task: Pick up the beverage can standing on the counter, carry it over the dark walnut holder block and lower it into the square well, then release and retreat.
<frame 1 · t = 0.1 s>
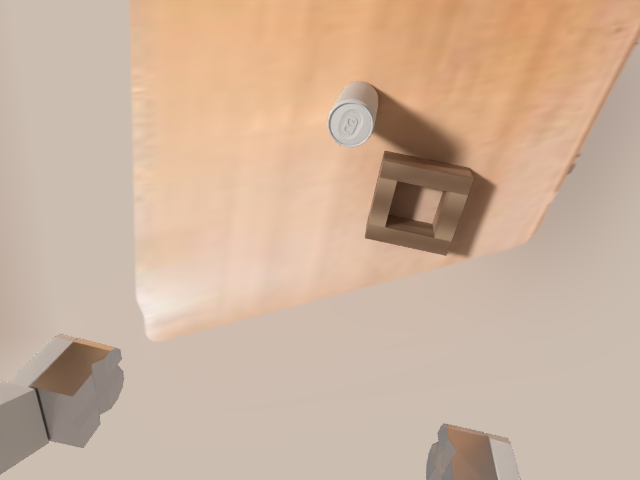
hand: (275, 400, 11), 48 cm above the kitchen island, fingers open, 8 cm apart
beverage can: (359, 100, 53), on the kitchen island
walnut holder: (415, 197, 58), on the kitchen island
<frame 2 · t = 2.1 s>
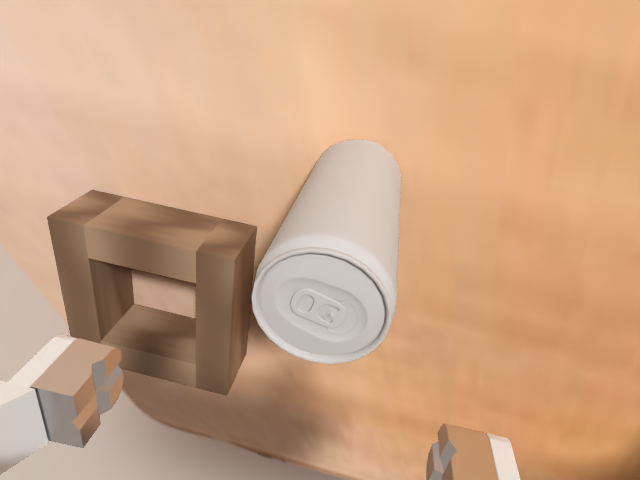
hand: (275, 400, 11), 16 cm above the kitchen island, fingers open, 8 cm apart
beverage can: (358, 176, 24), on the kitchen island
walnut holder: (175, 278, 30), on the kitchen island
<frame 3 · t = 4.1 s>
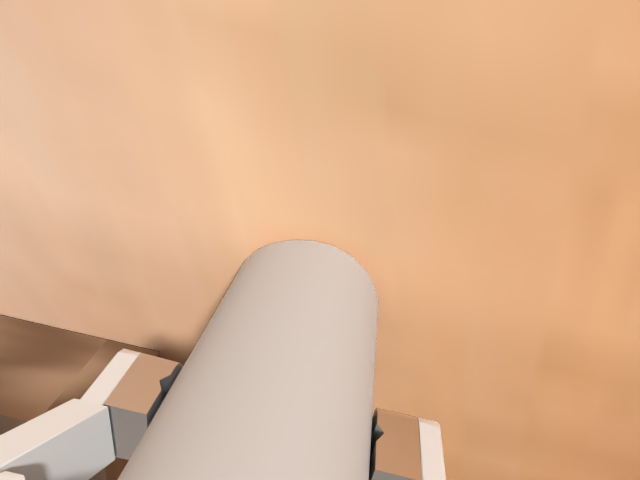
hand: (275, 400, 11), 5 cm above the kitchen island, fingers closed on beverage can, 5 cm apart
beverage can: (309, 288, 15), on the kitchen island, touching gripper
walnut holder: (52, 410, 20), on the kitchen island
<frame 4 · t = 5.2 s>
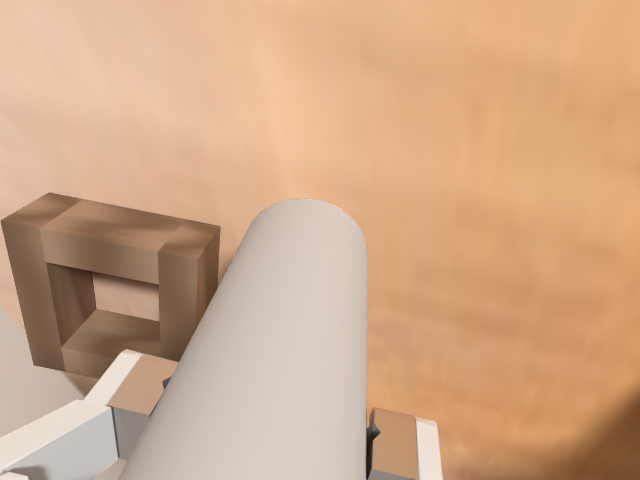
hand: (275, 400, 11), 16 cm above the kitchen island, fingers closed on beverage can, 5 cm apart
beverage can: (308, 243, 17), point 8 cm above the kitchen island, touching gripper
walnut holder: (138, 281, 30), on the kitchen island
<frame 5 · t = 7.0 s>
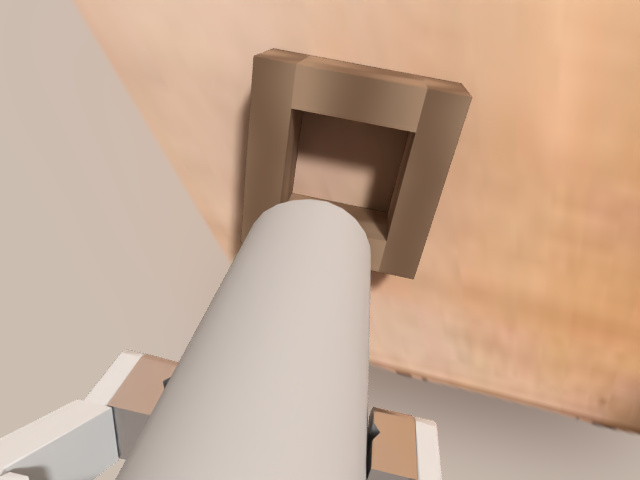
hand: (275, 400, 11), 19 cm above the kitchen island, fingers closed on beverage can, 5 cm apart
beverage can: (311, 244, 17), point 12 cm above the kitchen island, touching gripper
walnut holder: (348, 156, 28), on the kitchen island
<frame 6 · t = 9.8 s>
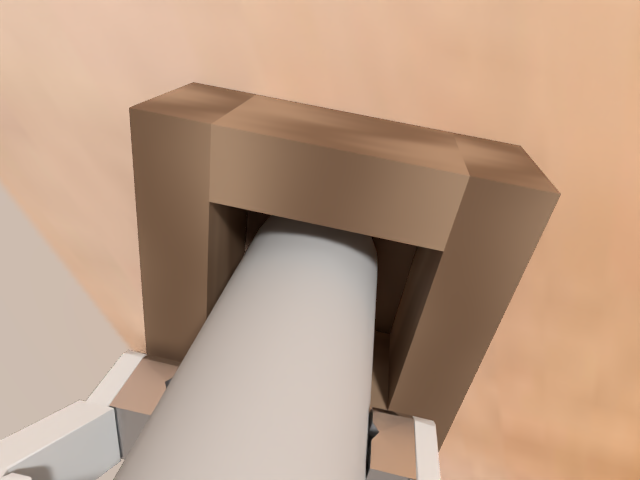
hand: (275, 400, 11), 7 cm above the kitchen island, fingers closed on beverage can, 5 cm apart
beverage can: (317, 249, 17), resting in walnut holder, touching gripper
walnut holder: (326, 253, 17), on the kitchen island
when the fingers open (7 cm above the kitchen island, at t = 9.9 s): beverage can stays where it is, resting in walnut holder.
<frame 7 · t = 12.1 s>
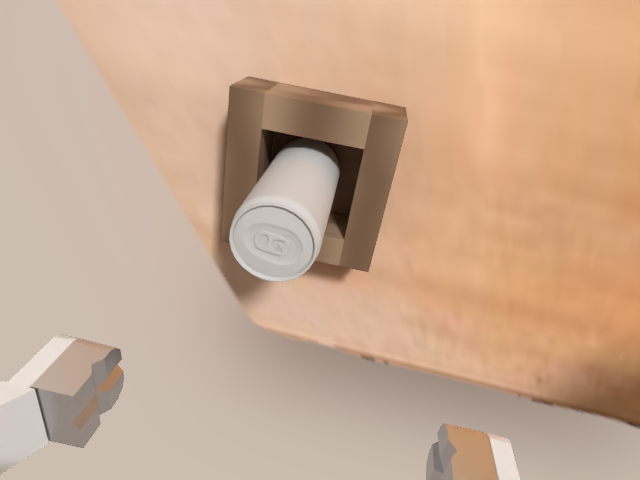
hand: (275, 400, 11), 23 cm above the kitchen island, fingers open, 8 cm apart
beverage can: (309, 166, 32), resting in walnut holder
walnut holder: (313, 167, 32), on the kitchen island
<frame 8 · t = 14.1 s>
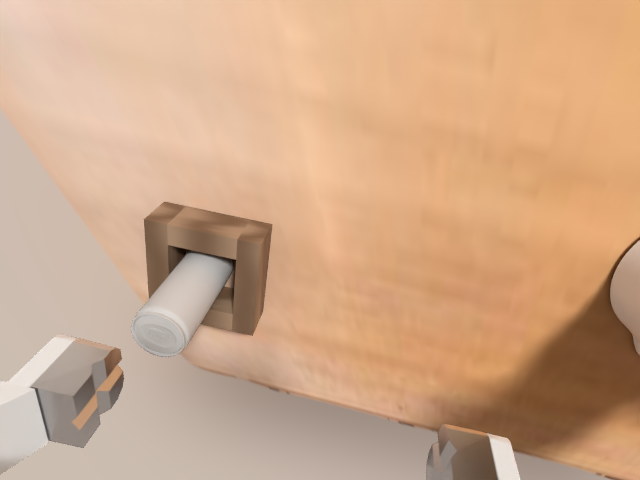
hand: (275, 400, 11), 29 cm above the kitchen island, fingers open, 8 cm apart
beverage can: (213, 258, 45), resting in walnut holder
walnut holder: (216, 259, 45), on the kitchen island
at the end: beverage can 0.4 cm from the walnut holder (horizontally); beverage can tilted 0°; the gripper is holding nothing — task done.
